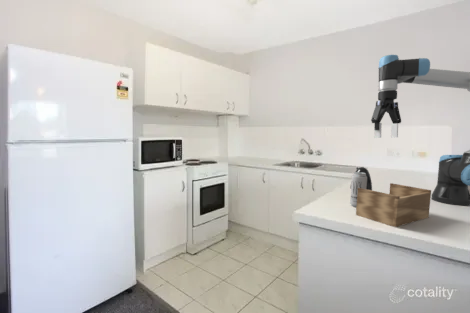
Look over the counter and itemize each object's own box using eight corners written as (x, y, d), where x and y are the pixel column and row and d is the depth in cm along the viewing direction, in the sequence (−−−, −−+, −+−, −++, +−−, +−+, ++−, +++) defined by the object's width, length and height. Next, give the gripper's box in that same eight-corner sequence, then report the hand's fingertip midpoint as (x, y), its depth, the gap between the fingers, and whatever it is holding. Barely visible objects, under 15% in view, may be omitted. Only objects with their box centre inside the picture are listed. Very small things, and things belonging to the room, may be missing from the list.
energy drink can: (348, 206, 113) (350, 172, 112) (352, 203, 118) (354, 171, 116) (362, 209, 109) (365, 174, 108) (366, 206, 114) (368, 173, 113)
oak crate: (355, 214, 101) (357, 188, 100) (389, 207, 113) (391, 183, 112) (395, 227, 88) (397, 196, 87) (428, 217, 100) (431, 190, 99)
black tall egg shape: (364, 193, 139) (366, 166, 137) (375, 198, 128) (378, 168, 127) (346, 193, 138) (347, 165, 137) (356, 198, 128) (358, 168, 126)
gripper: (394, 94, 126) (392, 137, 127) (363, 90, 113) (362, 137, 115) (410, 91, 119) (409, 137, 121) (379, 87, 107) (378, 137, 108)
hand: (386, 137), depth 118 cm, fingers open, 13 cm apart
